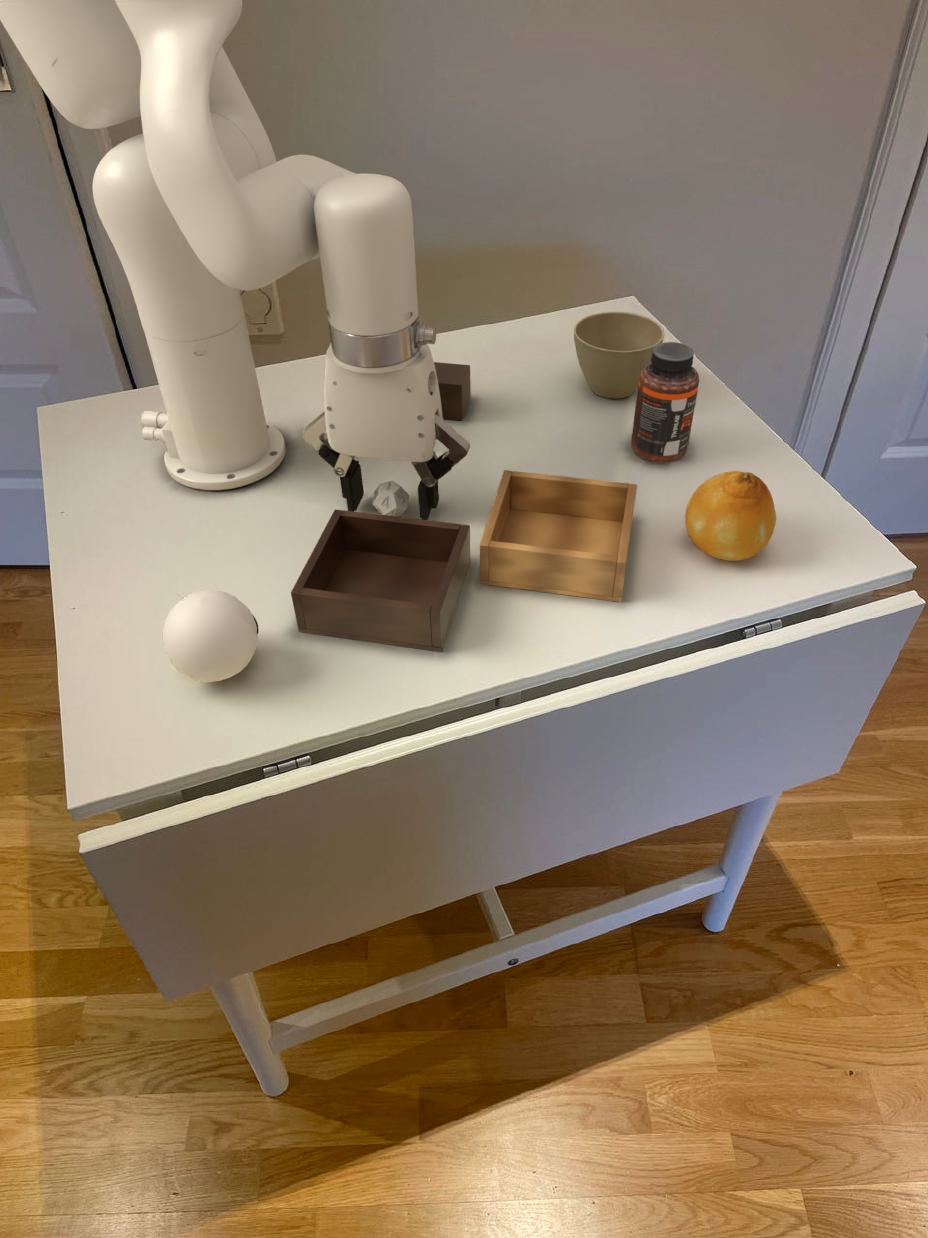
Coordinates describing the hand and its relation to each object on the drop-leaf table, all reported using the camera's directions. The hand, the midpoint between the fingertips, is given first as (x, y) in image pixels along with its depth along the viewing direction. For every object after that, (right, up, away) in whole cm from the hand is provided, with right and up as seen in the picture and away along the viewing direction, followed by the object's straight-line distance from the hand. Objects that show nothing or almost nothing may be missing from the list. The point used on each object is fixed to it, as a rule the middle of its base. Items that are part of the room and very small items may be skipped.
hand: (391, 506), depth 89 cm
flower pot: (+25, +16, +17) cm, 34 cm away
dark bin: (0, -9, -8) cm, 12 cm away
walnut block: (+5, +13, +14) cm, 20 cm away
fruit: (+31, -4, -4) cm, 32 cm away
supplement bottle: (+28, +7, +8) cm, 30 cm away
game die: (0, -1, +1) cm, 1 cm away
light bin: (+16, -5, -4) cm, 17 cm away
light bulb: (-14, -14, -13) cm, 24 cm away
